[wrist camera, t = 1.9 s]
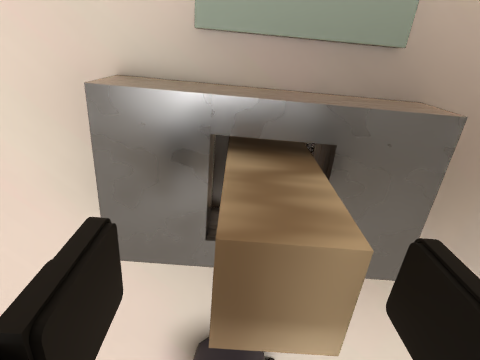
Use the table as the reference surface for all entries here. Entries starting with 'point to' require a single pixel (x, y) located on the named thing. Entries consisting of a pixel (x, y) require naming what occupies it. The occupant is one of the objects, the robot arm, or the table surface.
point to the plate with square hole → (263, 127)
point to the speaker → (225, 353)
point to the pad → (313, 19)
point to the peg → (283, 253)
